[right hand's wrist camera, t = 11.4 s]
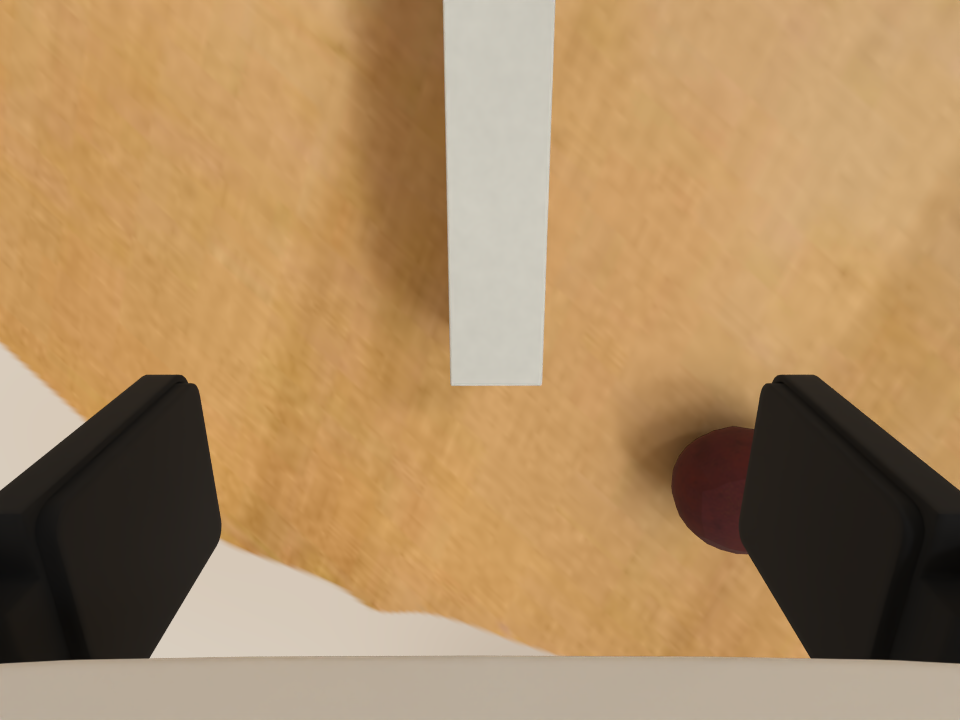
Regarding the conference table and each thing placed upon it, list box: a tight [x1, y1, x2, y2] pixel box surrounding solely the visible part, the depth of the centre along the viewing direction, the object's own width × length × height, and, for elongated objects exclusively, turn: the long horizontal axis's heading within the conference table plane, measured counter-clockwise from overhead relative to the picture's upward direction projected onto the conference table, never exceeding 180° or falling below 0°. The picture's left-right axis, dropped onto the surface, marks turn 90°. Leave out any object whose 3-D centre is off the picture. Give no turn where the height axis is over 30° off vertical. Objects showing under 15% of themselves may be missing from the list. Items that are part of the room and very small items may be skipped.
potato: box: [672, 426, 754, 554], centre depth 38 cm, size 7×8×7 cm
